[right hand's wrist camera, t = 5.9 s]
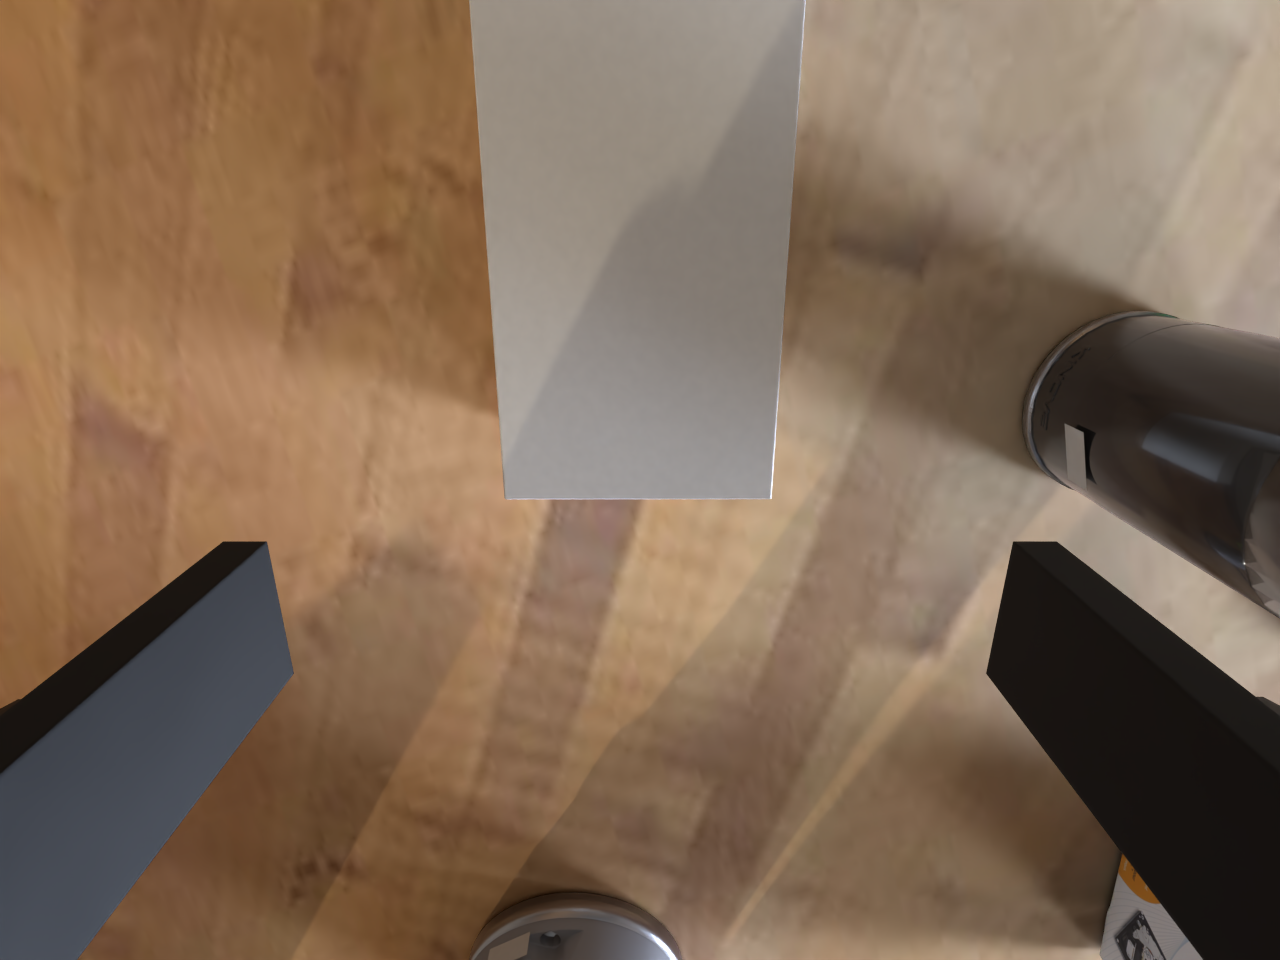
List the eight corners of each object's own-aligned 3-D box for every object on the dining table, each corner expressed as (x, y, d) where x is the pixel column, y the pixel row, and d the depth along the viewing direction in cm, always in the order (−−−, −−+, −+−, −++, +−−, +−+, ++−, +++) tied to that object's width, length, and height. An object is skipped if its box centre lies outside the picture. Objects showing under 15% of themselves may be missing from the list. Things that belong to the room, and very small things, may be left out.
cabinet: (517, 19, 30) (463, -68, 21) (758, 20, 30) (810, -68, 21) (538, 429, 37) (504, 499, 27) (737, 429, 37) (771, 499, 27)
